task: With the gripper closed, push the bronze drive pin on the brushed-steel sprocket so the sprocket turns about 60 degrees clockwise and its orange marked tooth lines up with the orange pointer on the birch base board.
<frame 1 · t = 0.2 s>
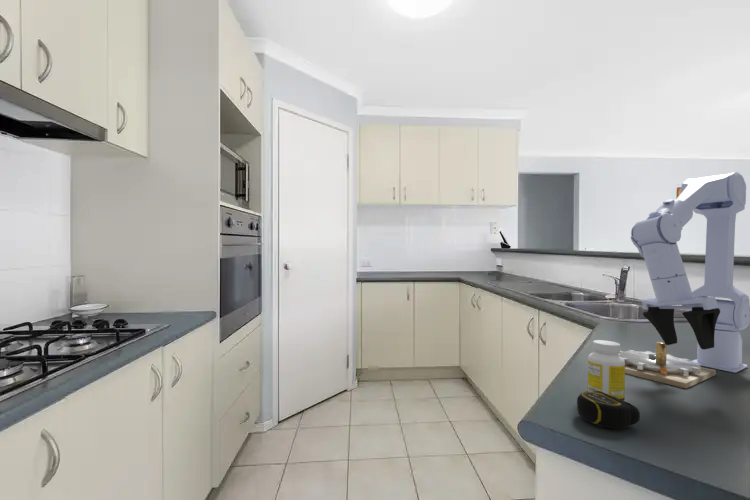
hand: (688, 346, 72), 8 cm above the counter, fingers open, 7 cm apart
supplement bottle: (605, 401, 64), on the counter
sprocket: (655, 351, 82), point 4 cm above the counter, hinge at 0.0°
tape measure: (604, 423, 56), on the counter
sprocket base: (655, 370, 82), on the counter
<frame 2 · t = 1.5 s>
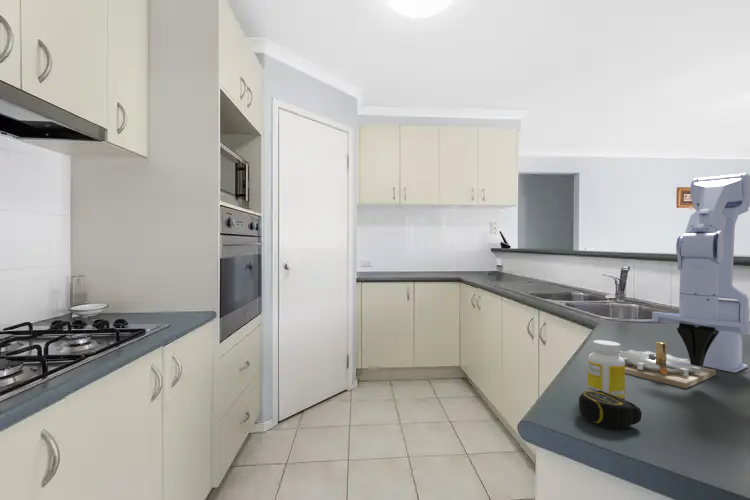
hand: (696, 364, 72), 4 cm above the counter, fingers closed
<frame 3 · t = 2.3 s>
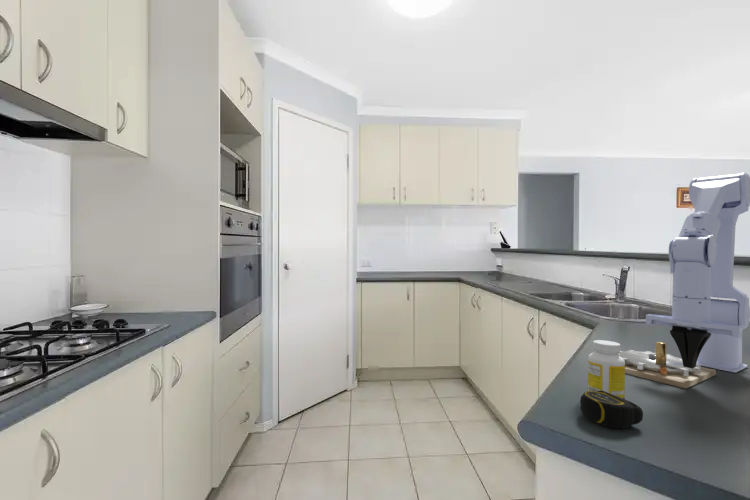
hand: (689, 366, 73), 3 cm above the counter, fingers closed
nothing on the counter moved.
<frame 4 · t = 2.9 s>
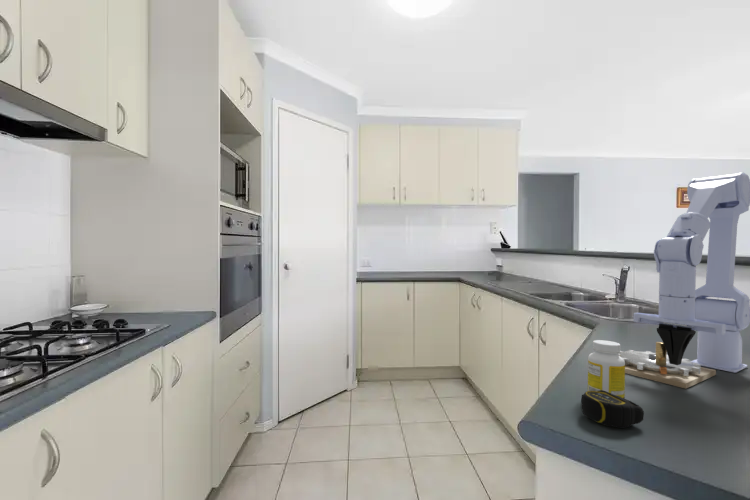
hand: (675, 363, 75), 3 cm above the counter, fingers closed
sprocket: (655, 351, 82), point 4 cm above the counter, hinge at 0.0°, touching gripper
everything else where it was.
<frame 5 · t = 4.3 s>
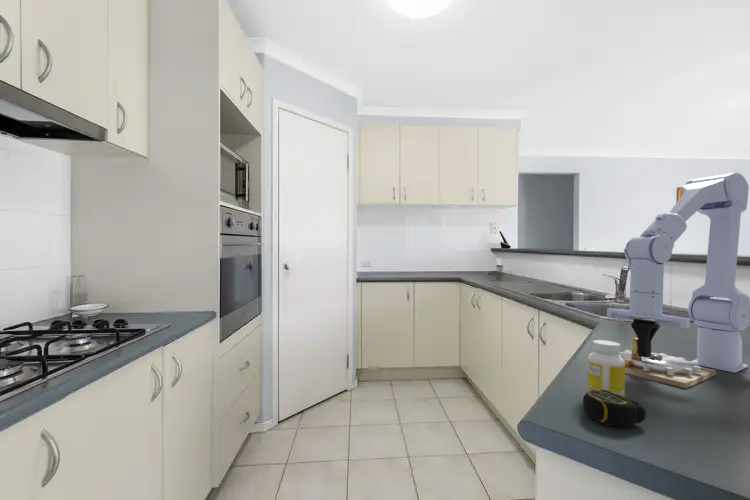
hand: (644, 356, 79), 4 cm above the counter, fingers closed, pressing on sprocket
sprocket: (655, 351, 82), point 4 cm above the counter, hinge at -51.7°, touching gripper
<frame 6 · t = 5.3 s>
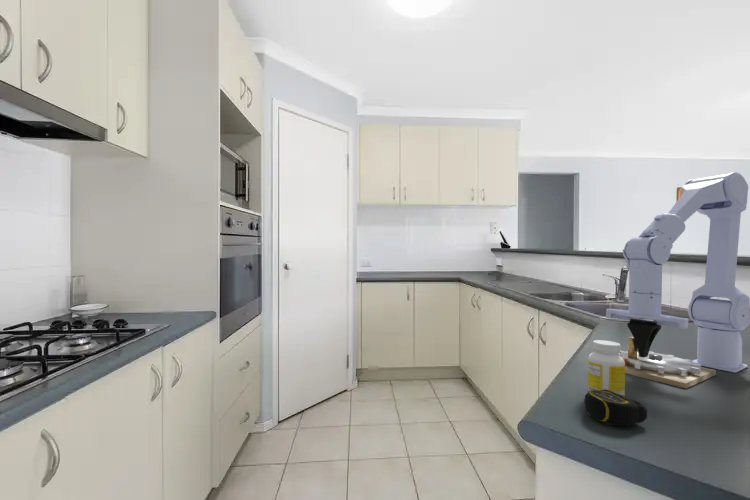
hand: (643, 356, 80), 3 cm above the counter, fingers closed
sprocket: (655, 351, 82), point 4 cm above the counter, hinge at -63.5°, touching gripper
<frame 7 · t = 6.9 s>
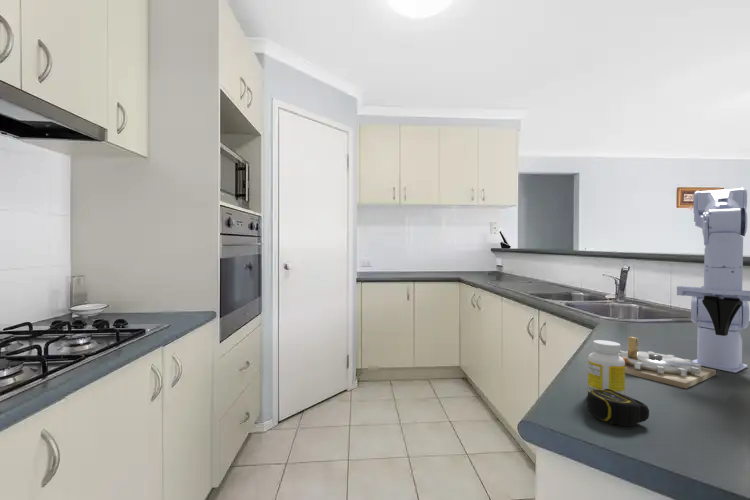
hand: (721, 334, 76), 9 cm above the counter, fingers closed
sprocket: (655, 351, 82), point 4 cm above the counter, hinge at -63.6°
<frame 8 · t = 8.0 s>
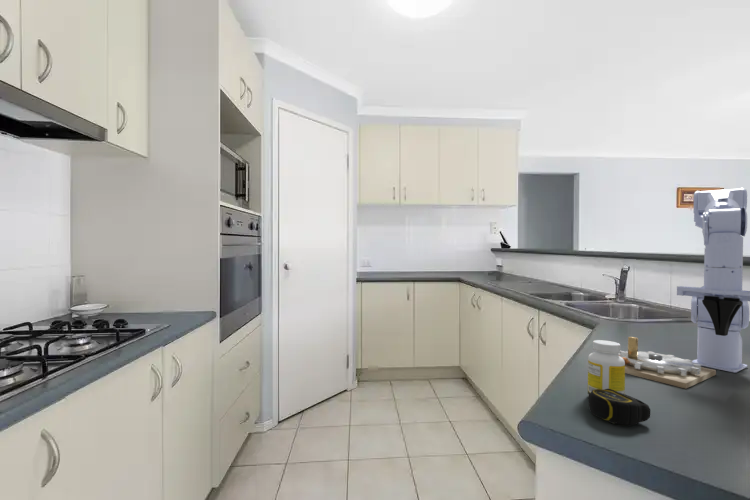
hand: (721, 334, 76), 9 cm above the counter, fingers closed
at the end: sprocket at -64° (first picture: +0°); tape measure moved 3.0 cm from its start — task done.
